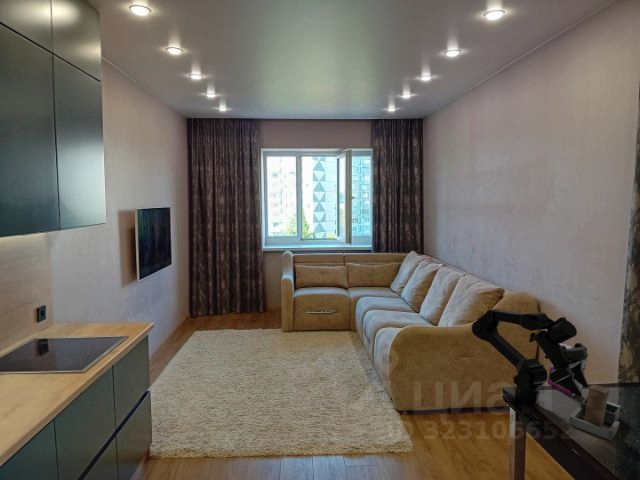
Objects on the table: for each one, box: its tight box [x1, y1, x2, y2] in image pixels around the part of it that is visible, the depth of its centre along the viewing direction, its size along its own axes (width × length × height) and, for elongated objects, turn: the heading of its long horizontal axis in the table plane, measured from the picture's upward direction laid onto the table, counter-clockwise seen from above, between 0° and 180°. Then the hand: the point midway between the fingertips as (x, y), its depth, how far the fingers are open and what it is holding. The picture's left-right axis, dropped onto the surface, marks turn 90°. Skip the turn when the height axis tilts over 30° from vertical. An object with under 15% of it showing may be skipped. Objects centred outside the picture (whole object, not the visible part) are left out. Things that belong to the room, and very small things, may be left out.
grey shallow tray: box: [567, 406, 620, 441], centre depth 148 cm, size 12×10×2 cm
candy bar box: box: [547, 342, 589, 398], centre depth 173 cm, size 11×5×16 cm, turn 21°
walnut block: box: [583, 383, 610, 428], centre depth 147 cm, size 4×4×13 cm
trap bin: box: [579, 395, 621, 427], centre depth 155 cm, size 10×7×4 cm
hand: (583, 391), depth 149 cm, fingers open, 9 cm apart
